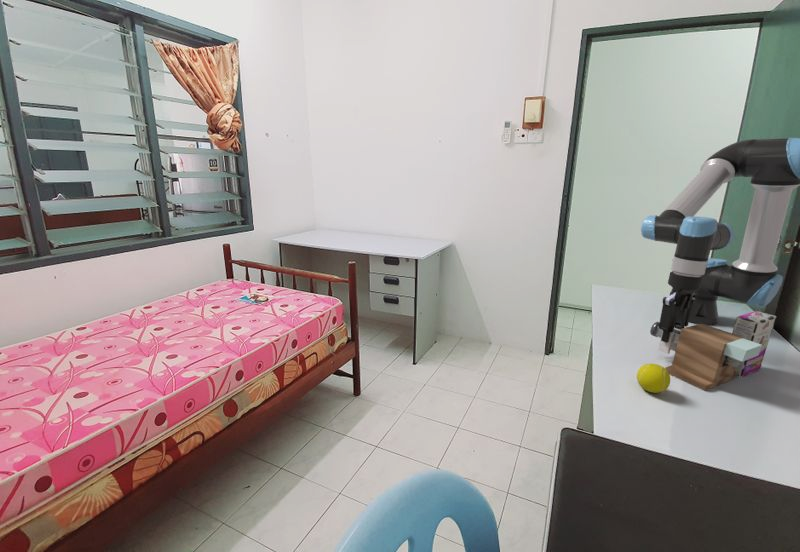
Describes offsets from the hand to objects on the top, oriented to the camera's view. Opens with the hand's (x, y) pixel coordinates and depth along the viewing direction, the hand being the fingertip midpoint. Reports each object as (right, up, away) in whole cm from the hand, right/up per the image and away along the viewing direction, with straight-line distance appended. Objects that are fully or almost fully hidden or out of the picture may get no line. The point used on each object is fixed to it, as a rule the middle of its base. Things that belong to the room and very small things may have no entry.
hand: (667, 350), depth 113 cm
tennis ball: (-15, -7, -15) cm, 23 cm away
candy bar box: (+18, -5, -3) cm, 20 cm away
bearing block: (+4, -5, -7) cm, 10 cm away
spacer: (+8, +2, -16) cm, 18 cm away
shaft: (+3, +1, -6) cm, 7 cm away
